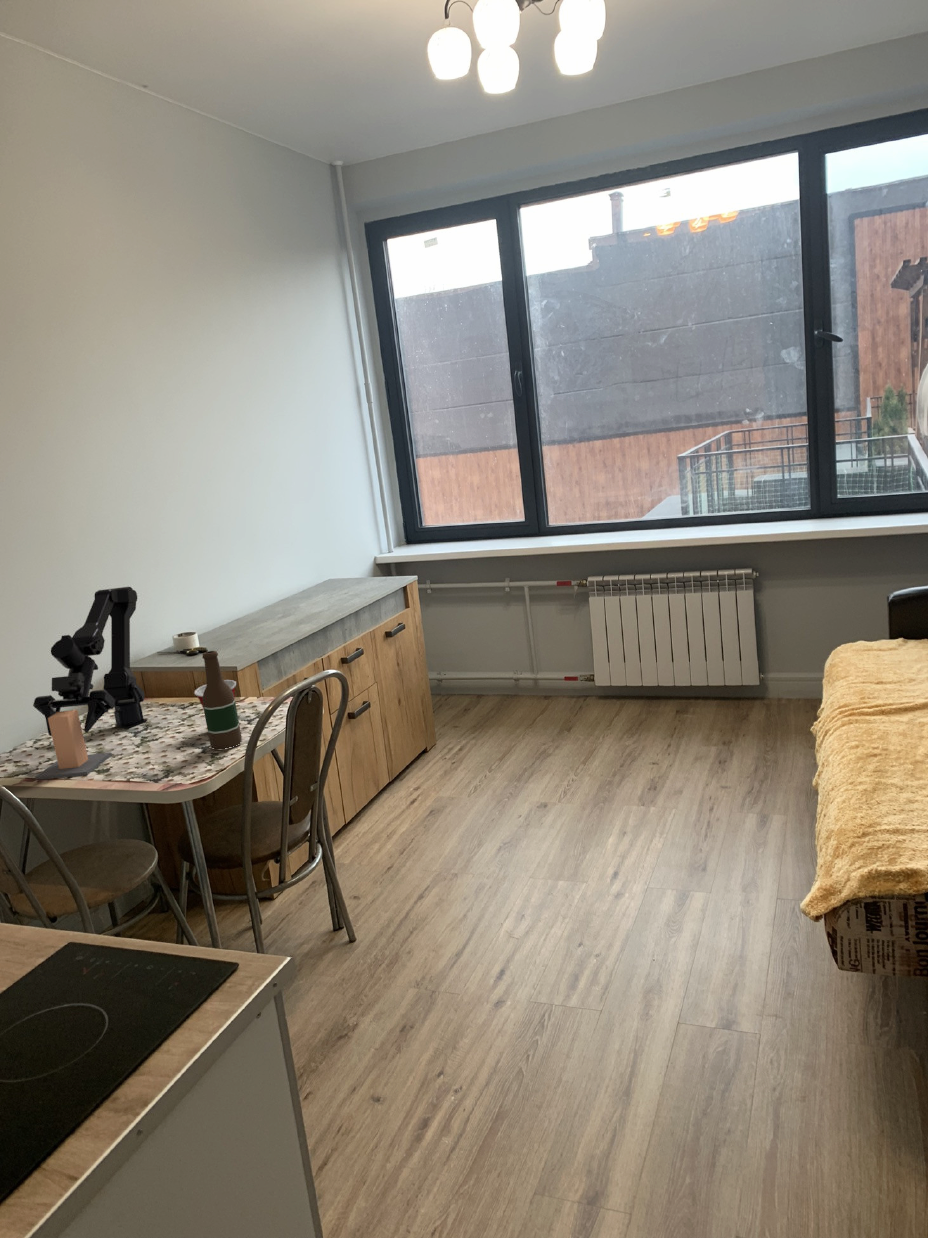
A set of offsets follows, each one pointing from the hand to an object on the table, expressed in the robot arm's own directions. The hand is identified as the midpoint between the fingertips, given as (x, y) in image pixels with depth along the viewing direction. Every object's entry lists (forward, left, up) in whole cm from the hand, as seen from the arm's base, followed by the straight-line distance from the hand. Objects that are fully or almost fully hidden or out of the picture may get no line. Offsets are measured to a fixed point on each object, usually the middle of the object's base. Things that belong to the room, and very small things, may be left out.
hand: (68, 733), depth 228 cm
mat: (0, 0, -9) cm, 9 cm away
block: (0, 0, -8) cm, 8 cm away
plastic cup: (-33, +16, -9) cm, 38 cm away
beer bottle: (-25, +28, -9) cm, 38 cm away
